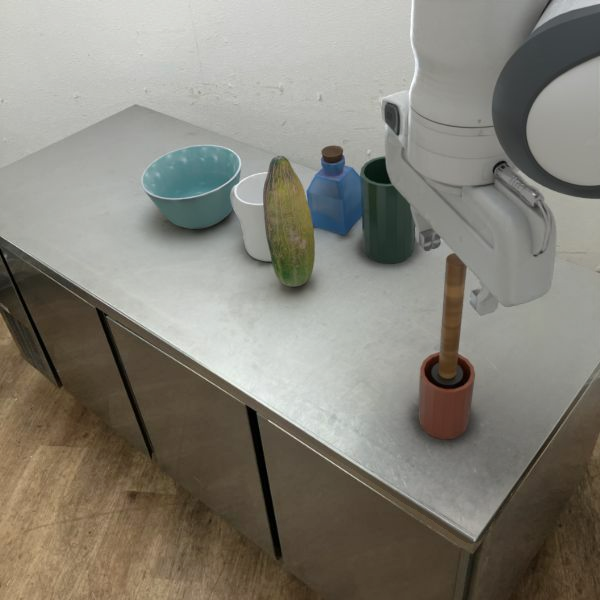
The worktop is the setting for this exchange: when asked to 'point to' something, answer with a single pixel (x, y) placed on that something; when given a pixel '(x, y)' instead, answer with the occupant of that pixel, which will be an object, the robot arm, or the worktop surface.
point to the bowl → (193, 184)
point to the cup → (384, 216)
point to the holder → (445, 401)
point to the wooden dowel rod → (451, 326)
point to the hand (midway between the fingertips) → (454, 275)
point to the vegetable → (288, 224)
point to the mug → (252, 214)
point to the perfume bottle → (335, 193)
